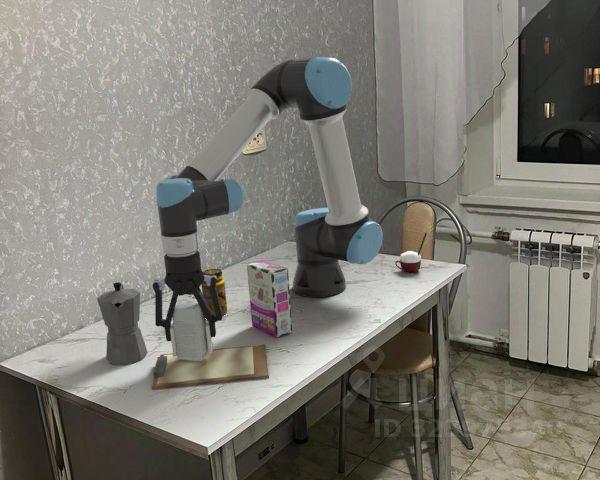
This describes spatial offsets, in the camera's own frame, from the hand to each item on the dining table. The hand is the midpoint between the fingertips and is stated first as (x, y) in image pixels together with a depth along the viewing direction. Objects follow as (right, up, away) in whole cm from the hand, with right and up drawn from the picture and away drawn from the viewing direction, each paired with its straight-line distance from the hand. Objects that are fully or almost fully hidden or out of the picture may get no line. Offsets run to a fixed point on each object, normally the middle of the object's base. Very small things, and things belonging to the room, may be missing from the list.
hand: (193, 352), depth 145 cm
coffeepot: (-16, -2, +7) cm, 18 cm away
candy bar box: (+17, +3, +17) cm, 24 cm away
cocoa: (+57, +15, +53) cm, 80 cm away
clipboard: (+4, -3, -2) cm, 6 cm away
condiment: (+1, +5, +29) cm, 29 cm away
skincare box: (0, -1, 0) cm, 1 cm away
